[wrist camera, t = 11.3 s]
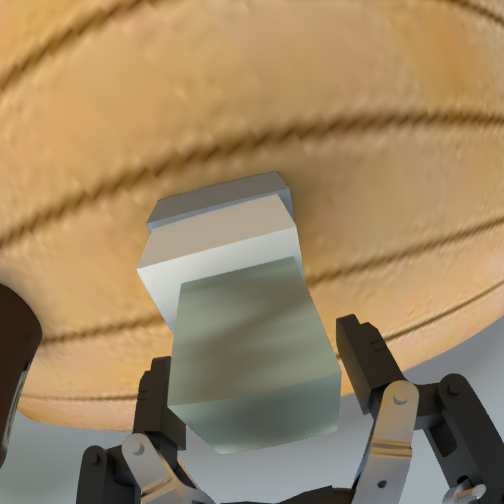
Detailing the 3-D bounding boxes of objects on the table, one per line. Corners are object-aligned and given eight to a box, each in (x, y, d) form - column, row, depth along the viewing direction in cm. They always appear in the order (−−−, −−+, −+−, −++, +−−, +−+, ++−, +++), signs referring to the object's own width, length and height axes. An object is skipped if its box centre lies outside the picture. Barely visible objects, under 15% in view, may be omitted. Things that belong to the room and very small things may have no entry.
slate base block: (275, 169, 18) (289, 188, 15) (291, 267, 22) (304, 300, 19) (159, 199, 18) (146, 224, 15) (193, 289, 22) (191, 325, 19)
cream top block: (277, 193, 15) (296, 226, 11) (296, 292, 18) (312, 336, 15) (153, 228, 15) (136, 269, 11) (195, 317, 18) (193, 364, 15)
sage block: (293, 255, 12) (341, 371, 7) (304, 331, 15) (337, 430, 9) (181, 283, 12) (167, 406, 7) (215, 352, 15) (220, 453, 9)
